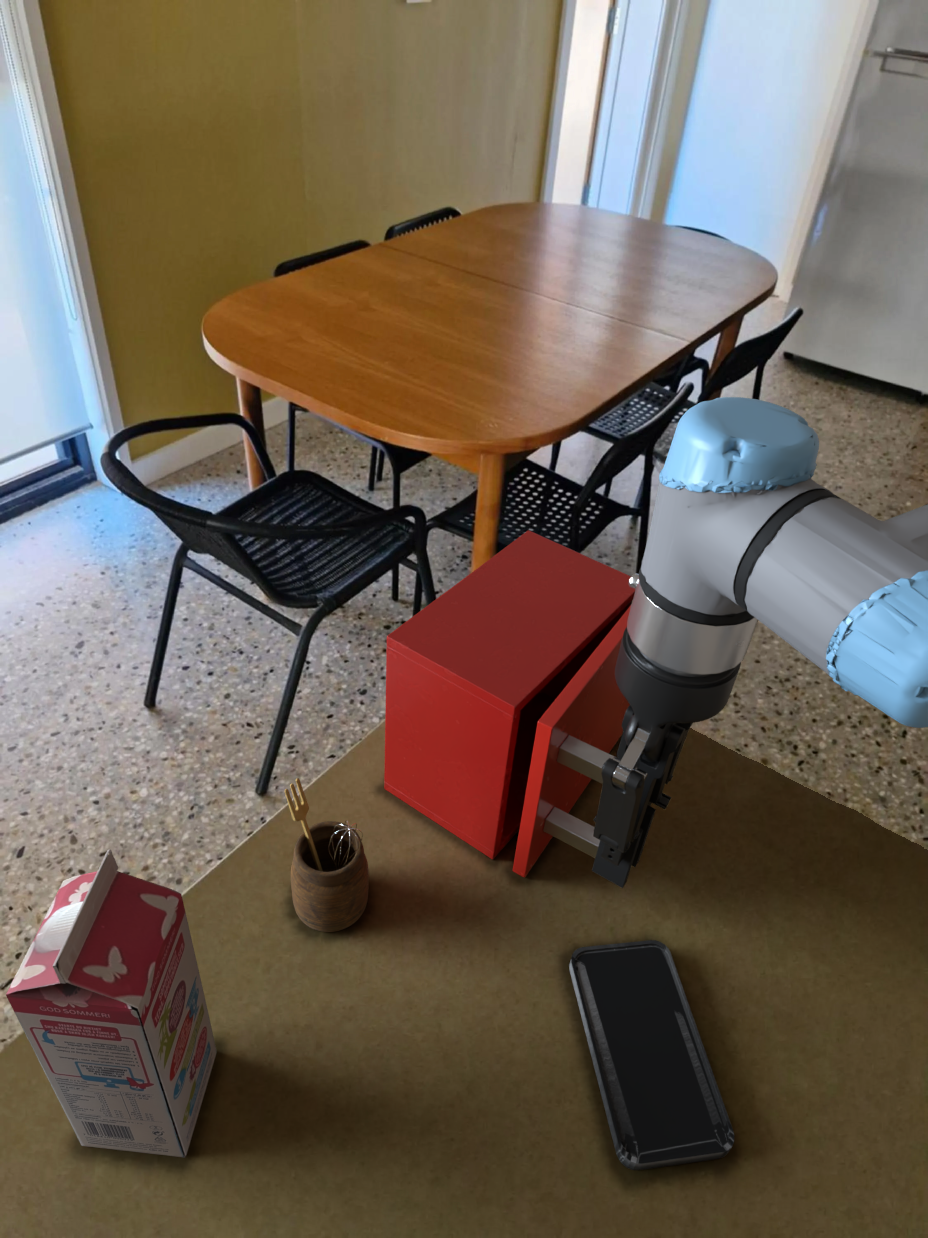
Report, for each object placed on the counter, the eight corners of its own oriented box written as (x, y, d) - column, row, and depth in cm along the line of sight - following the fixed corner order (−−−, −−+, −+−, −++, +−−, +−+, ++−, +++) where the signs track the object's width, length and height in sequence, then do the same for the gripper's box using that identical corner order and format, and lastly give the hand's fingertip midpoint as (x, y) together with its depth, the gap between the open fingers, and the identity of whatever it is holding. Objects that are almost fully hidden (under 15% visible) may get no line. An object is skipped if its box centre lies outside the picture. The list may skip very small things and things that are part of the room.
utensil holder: (338, 949, 67) (334, 853, 60) (274, 908, 70) (262, 810, 62) (383, 893, 71) (385, 796, 64) (322, 856, 74) (316, 758, 66)
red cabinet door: (682, 762, 84) (730, 617, 73) (593, 916, 71) (635, 768, 60) (611, 728, 87) (646, 584, 76) (511, 871, 74) (537, 721, 62)
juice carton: (81, 1145, 56) (-13, 958, 42) (121, 1040, 61) (49, 843, 47) (185, 1157, 56) (125, 973, 42) (217, 1051, 61) (172, 856, 47)
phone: (624, 1166, 56) (568, 948, 67) (620, 1173, 57) (565, 956, 68) (741, 1149, 57) (667, 938, 68) (737, 1156, 58) (663, 946, 69)
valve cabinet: (609, 728, 87) (644, 581, 76) (492, 860, 74) (514, 707, 63) (508, 674, 93) (528, 529, 81) (383, 789, 80) (386, 636, 68)
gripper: (673, 566, 62) (613, 787, 77) (577, 678, 53) (529, 907, 67) (777, 608, 60) (693, 828, 74) (695, 735, 50) (618, 961, 64)
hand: (615, 865), depth 71 cm, fingers closed on red cabinet door, 2 cm apart
